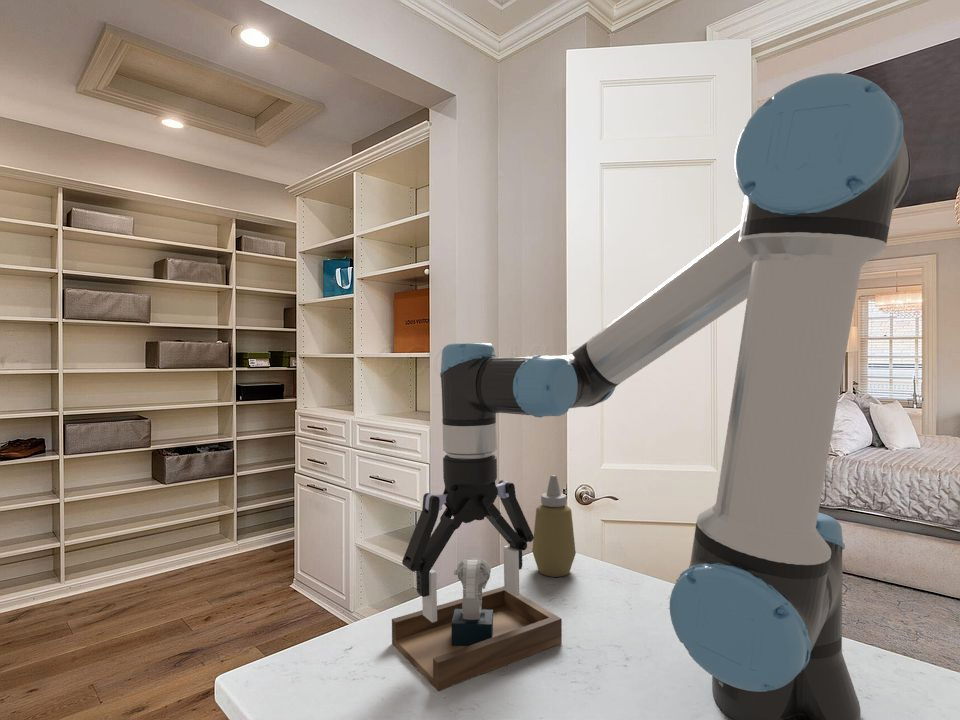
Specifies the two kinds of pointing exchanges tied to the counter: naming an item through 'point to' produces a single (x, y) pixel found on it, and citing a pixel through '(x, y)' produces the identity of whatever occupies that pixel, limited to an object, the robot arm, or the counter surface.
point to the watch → (472, 604)
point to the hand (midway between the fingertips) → (472, 605)
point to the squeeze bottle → (553, 533)
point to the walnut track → (514, 638)
